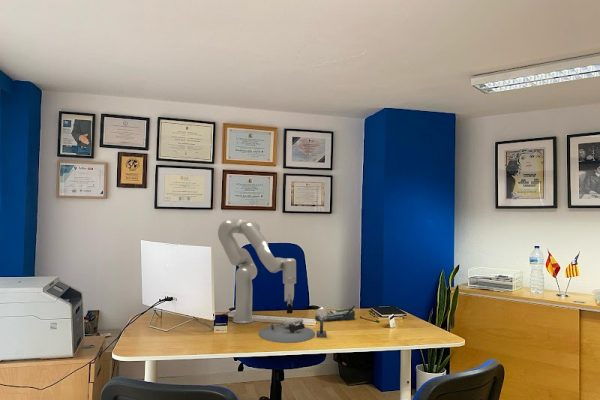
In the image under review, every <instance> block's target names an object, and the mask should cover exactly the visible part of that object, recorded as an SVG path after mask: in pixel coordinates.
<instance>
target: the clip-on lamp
mask: <svg viewBox="0 0 600 400" xmlns="http://www.w3.org/2000/svg"><path fill="white" fill-rule="evenodd" d="M273 325H274V326H273ZM275 325H278V326H280V325H281V324H278V323H275V324H273V323H271V324H270V326H271V327H272V330H275ZM283 325H284V326H285V327H287V328H290V332H292V333H294V331H297V330H300V329H304V328H305V327H306V326H305V324H304V319H303V318H302V317H296V318H293V319H292V318H286V319H285V320H284V322H283ZM280 327H282V326H280ZM285 327H282V328H285Z"/></svg>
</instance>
